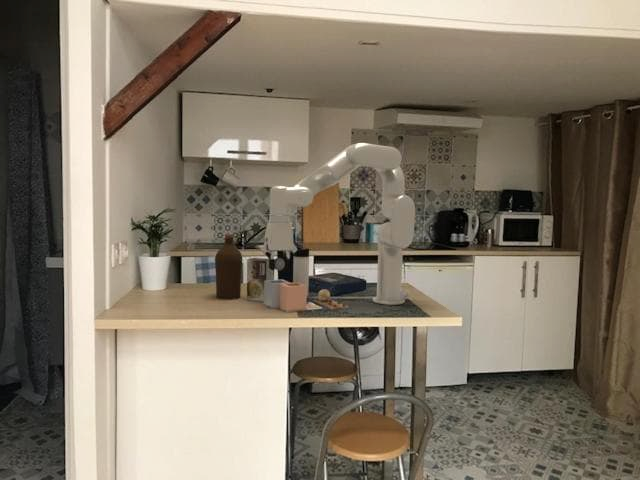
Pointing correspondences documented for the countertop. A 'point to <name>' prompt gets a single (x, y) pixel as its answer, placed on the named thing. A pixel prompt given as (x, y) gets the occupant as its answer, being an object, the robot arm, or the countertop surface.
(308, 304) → the card
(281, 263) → the grey ball
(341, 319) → the countertop surface
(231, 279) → the olive oil
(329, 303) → the speckled flat slab
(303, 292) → the pink square planter
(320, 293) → the beech ball
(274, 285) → the grey square pot
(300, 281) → the travel mug
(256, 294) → the coffee box
